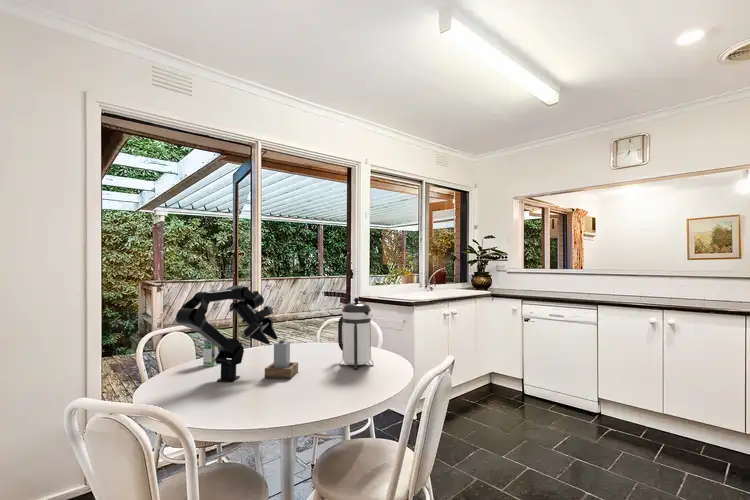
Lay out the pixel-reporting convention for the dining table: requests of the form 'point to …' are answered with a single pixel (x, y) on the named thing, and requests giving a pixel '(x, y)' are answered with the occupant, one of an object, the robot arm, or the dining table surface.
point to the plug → (282, 354)
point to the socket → (281, 371)
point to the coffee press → (355, 334)
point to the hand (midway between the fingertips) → (273, 341)
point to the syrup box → (209, 353)
